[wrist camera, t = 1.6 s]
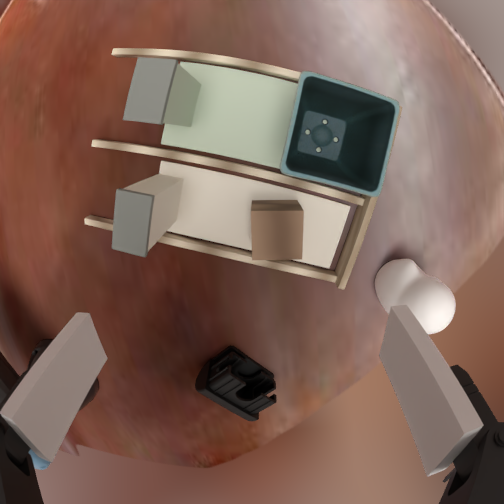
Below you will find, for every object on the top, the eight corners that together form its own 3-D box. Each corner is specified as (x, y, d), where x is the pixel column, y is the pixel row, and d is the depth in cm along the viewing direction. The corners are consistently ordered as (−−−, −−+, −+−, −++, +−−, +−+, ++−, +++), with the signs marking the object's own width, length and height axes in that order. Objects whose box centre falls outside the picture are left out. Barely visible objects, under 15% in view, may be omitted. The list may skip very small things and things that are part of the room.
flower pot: (289, 87, 27) (301, 68, 19) (365, 109, 28) (402, 102, 19) (272, 163, 30) (278, 173, 22) (349, 182, 31) (379, 199, 23)
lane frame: (90, 220, 34) (78, 227, 31) (118, 51, 26) (107, 45, 23) (338, 278, 36) (344, 289, 33) (390, 108, 28) (402, 107, 25)
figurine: (427, 264, 35) (475, 310, 24) (396, 307, 38) (432, 362, 26) (393, 241, 34) (442, 285, 23) (361, 289, 36) (394, 346, 25)
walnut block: (252, 242, 34) (252, 260, 29) (251, 200, 32) (250, 211, 27) (296, 242, 34) (302, 259, 29) (297, 199, 32) (303, 210, 27)
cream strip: (151, 225, 34) (111, 263, 24) (161, 160, 31) (118, 172, 21) (328, 266, 35) (353, 317, 25) (349, 205, 32) (387, 236, 22)
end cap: (198, 365, 42) (191, 397, 36) (229, 342, 40) (224, 375, 34) (245, 395, 45) (244, 427, 38) (277, 376, 43) (279, 408, 36)
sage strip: (161, 143, 30) (117, 148, 20) (180, 62, 27) (146, 31, 16) (350, 189, 32) (390, 213, 21) (372, 110, 28) (421, 101, 18)
